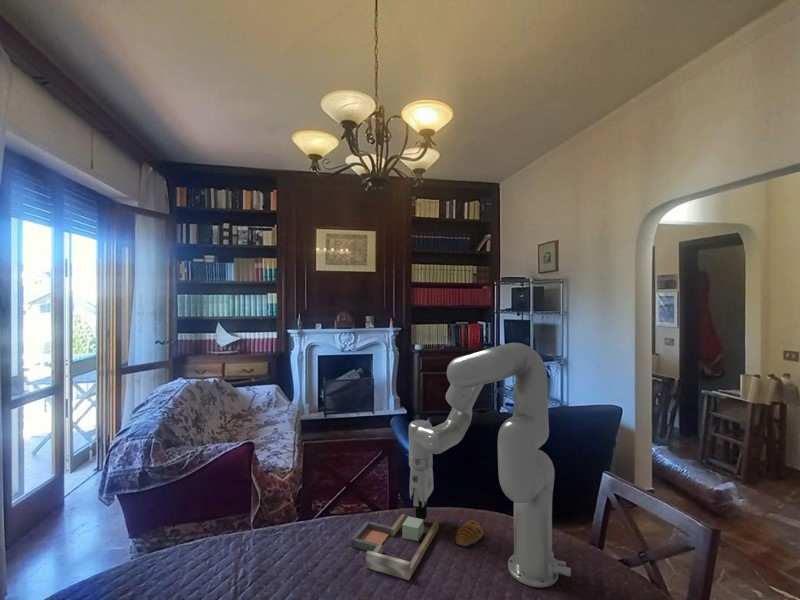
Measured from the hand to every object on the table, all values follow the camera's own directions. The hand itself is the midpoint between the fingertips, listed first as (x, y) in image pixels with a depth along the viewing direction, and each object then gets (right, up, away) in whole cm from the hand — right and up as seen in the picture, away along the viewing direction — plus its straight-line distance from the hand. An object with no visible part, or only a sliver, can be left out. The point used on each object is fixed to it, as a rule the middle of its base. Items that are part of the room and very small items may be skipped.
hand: (421, 517), depth 130 cm
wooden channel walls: (-5, -2, -12) cm, 13 cm away
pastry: (+14, -2, -8) cm, 16 cm away
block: (-3, -2, -7) cm, 7 cm away
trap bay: (-15, -2, -9) cm, 18 cm away
